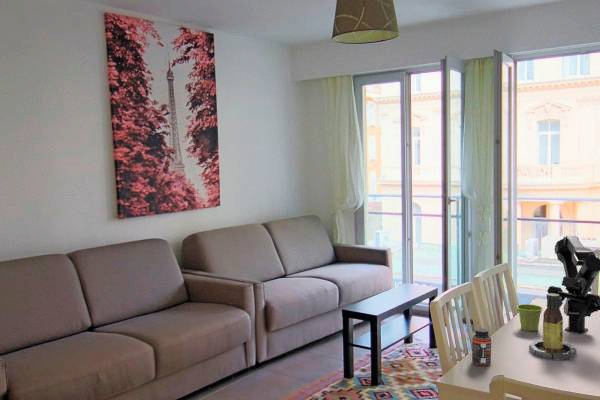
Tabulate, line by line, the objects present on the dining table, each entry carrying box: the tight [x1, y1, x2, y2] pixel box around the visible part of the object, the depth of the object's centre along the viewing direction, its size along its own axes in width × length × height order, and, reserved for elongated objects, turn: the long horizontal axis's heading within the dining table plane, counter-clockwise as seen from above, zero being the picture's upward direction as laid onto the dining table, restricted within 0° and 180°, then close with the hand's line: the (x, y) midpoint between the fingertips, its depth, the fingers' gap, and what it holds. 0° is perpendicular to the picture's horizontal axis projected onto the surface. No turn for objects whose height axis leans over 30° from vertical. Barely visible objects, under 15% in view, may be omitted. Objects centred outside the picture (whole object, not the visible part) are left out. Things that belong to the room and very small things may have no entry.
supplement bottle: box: [471, 327, 492, 367], centre depth 192 cm, size 6×6×11 cm
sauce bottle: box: [542, 293, 564, 353], centre depth 200 cm, size 7×6×20 cm
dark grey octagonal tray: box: [528, 339, 577, 361], centre depth 200 cm, size 14×14×2 cm
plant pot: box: [516, 303, 544, 332], centre depth 226 cm, size 9×9×9 cm
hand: (565, 317), depth 204 cm, fingers open, 9 cm apart
